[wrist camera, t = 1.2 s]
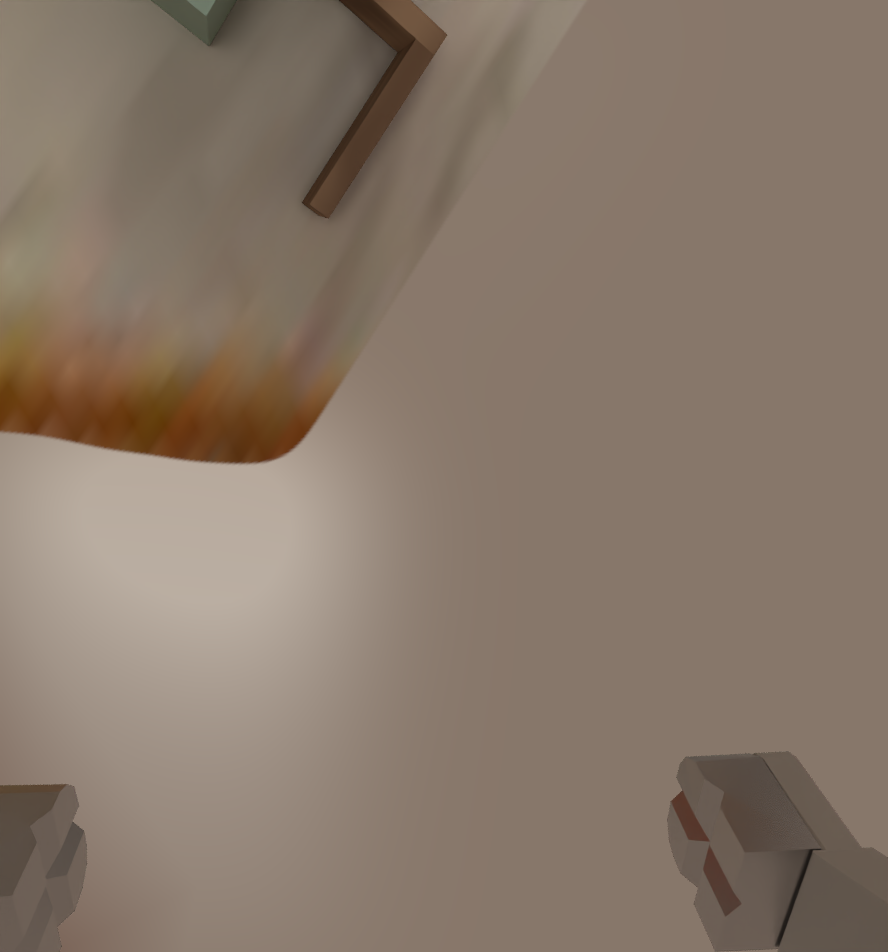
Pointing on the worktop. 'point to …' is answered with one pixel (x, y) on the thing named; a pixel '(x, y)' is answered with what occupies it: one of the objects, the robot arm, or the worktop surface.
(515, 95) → the worktop surface
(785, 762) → the robot arm
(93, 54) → the worktop surface
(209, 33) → the sage green block
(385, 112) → the wooden u-shaped stand
